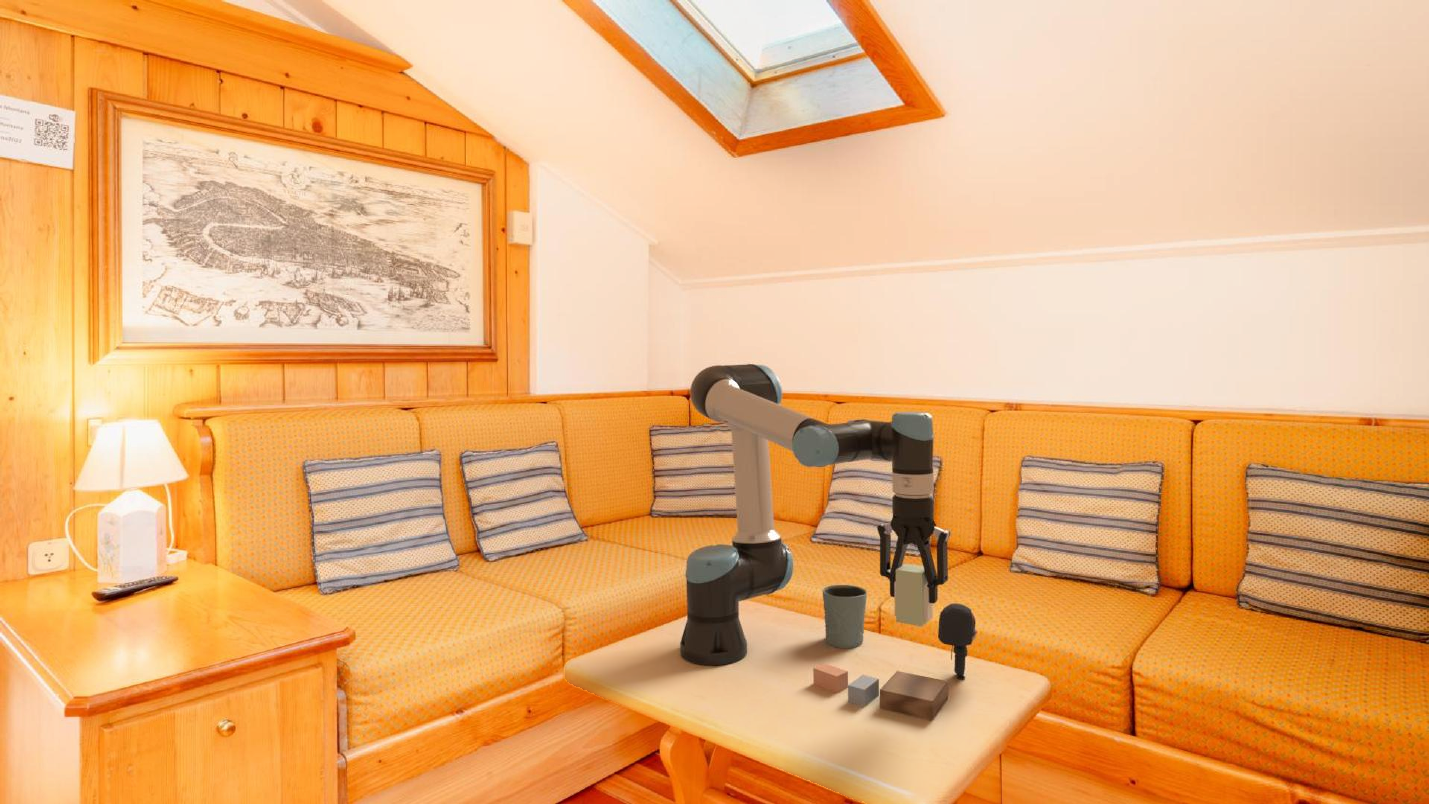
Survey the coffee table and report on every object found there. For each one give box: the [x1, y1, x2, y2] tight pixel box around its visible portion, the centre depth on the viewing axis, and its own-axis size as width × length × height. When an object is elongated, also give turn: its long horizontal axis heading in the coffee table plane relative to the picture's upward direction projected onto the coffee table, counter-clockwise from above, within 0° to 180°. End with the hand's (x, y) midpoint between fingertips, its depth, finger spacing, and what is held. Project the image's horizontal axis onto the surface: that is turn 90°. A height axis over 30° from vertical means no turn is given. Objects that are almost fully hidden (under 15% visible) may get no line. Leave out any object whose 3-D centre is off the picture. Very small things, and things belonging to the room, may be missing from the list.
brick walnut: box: [879, 670, 949, 722], centre depth 148 cm, size 10×10×4 cm
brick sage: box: [895, 563, 928, 628], centre depth 147 cm, size 5×5×10 cm
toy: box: [937, 603, 978, 680], centre depth 160 cm, size 9×8×15 cm
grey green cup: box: [821, 584, 868, 649], centre depth 181 cm, size 10×10×12 cm
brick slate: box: [847, 674, 880, 708], centre depth 151 cm, size 6×4×4 cm, turn 142°
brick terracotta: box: [812, 662, 849, 694], centre depth 157 cm, size 6×4×4 cm, turn 43°
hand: (913, 616), depth 148 cm, fingers closed on brick sage, 5 cm apart
